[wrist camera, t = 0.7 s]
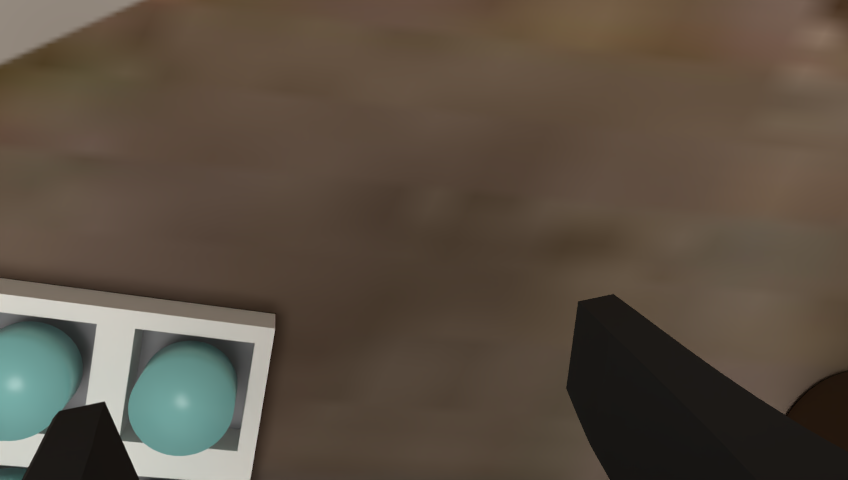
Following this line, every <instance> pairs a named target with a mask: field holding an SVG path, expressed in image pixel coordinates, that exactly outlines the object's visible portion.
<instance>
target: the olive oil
mask: <svg viewBox="0 0 848 480" xmlns="http://www.w3.org/2000/svg"><path fill="white" fill-rule="evenodd" d="M787 417H789V418H791V419H792V420H794V421H795V422H797V423H798V424H800V425H802V426H803V427H805V428H807V429H808V430H810V431H812V432H814V433H815V434H817V435H819V436H820V437H822V438H824V439H826V440H827V441H829V442H831V443H833V444H835V445H836V446H838V447H840V448H842V449H844V450H846V451H847V452H848V372H844V373H841V374H838V375H835V376H832V377H830V378H828V379H826V380H824V381H822V382H821V383H819V384H817V385H816V386H815V387H813V388H812V389H811V390H809V391H808V392H807V393H806V394H805V395H804V396H803V397H802V398H801V399H800V400H799V401H798V402H797V403H796V404H795V406H794V407H793V408H792V409H791V411H790V412H789V414H788V415H787Z"/></svg>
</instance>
